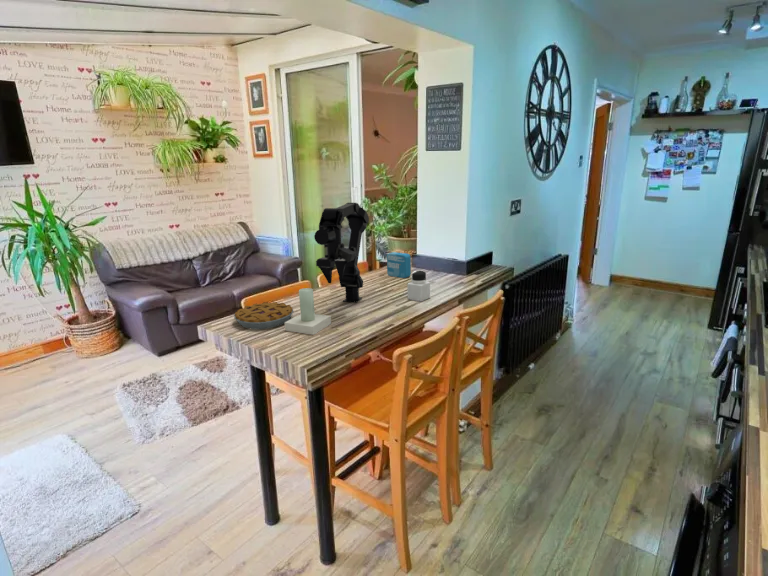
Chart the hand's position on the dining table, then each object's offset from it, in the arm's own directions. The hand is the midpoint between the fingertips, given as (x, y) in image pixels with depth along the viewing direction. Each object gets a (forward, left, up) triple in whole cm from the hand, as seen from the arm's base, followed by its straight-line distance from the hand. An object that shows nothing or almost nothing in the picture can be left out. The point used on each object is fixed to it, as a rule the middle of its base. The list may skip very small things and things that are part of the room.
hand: (335, 280), depth 175 cm
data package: (-60, +7, -13) cm, 62 cm away
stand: (+19, -3, -13) cm, 23 cm away
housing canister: (+19, -3, -10) cm, 21 cm away
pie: (+17, -23, -13) cm, 31 cm away
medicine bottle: (-25, +27, -13) cm, 39 cm away
